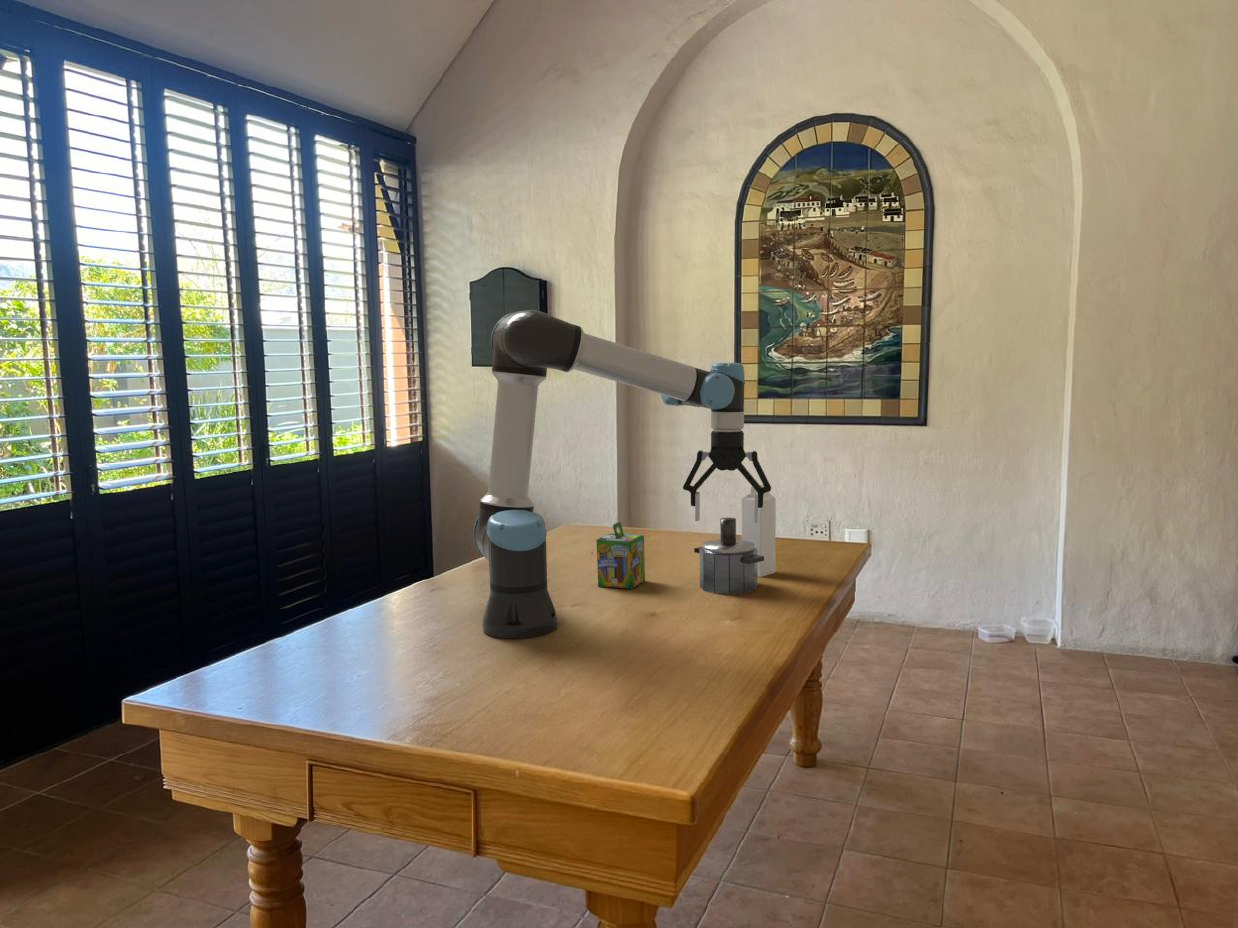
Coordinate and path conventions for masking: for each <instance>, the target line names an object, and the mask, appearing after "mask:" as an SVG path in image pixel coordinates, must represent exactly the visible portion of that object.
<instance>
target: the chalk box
mask: <svg viewBox="0 0 1238 928" xmlns="http://www.w3.org/2000/svg"><path fill="white" fill-rule="evenodd" d="M612 528H613V529H612V530H613V533H608V534H606V535H603V536H601V537H598V538H597V539H596V561H597V562H596V565H597V587H599V588H600V587H601V588H616V589H617V588H618V589H619V588H620V589H630V590H631V589H632V590H633V589H634V588H635V587H637V586H639V585H640V584H642V583H644V582H645V581H646V569H645V568H646V567H645V565H646V563H645V535H642V534H632V533H624V529H623V526H622V523H621V522H620V521H618V522H615V523H613V525H612ZM617 529H619V532H618V531H617Z"/></svg>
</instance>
